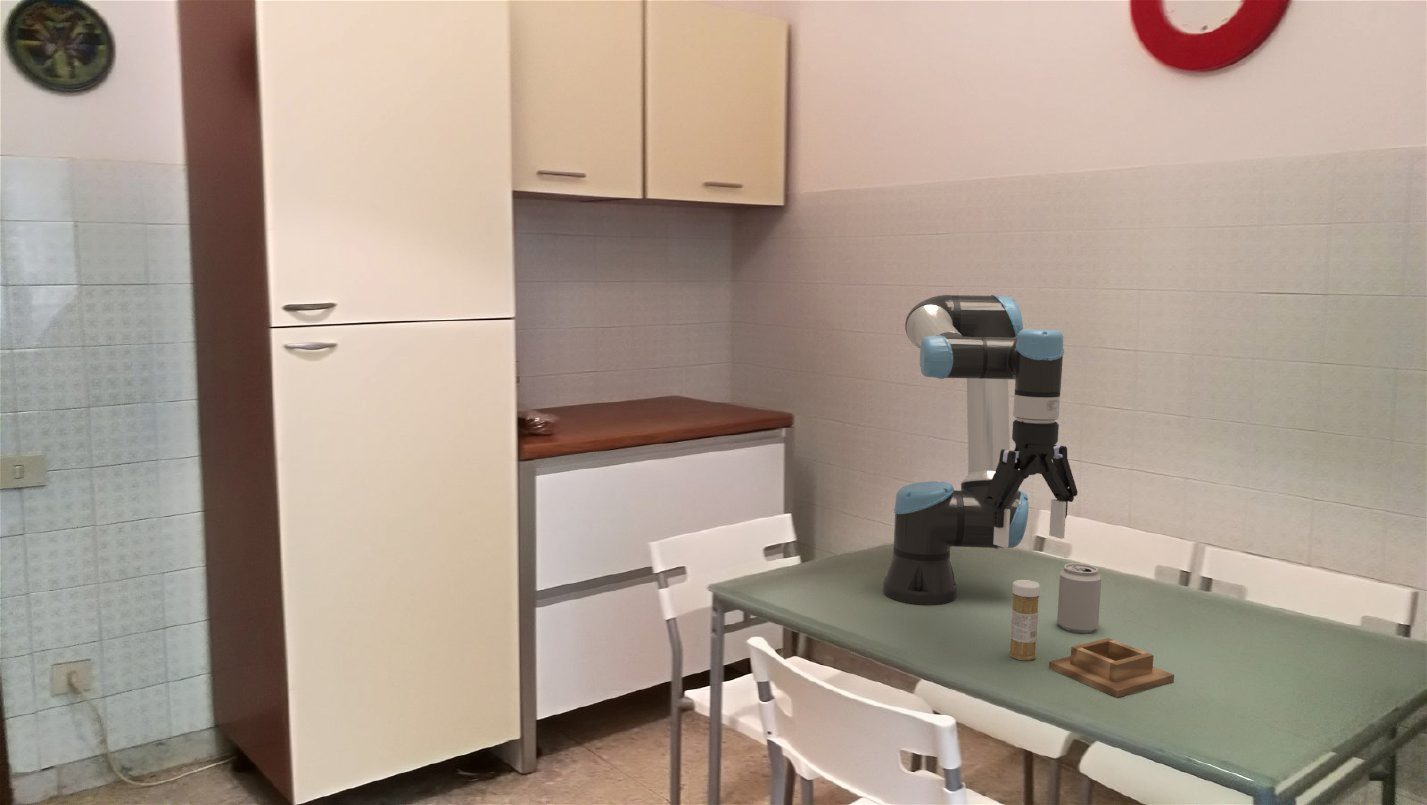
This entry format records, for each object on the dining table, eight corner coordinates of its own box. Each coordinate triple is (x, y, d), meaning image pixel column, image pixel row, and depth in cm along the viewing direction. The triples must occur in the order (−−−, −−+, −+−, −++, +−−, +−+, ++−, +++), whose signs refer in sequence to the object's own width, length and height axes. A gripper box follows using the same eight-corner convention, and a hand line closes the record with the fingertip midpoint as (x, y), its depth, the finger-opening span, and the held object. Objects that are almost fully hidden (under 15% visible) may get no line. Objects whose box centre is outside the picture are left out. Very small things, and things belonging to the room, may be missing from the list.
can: (1101, 635, 193) (1105, 573, 192) (1059, 632, 195) (1062, 570, 193) (1094, 622, 200) (1098, 562, 199) (1054, 619, 202) (1058, 559, 200)
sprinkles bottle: (1023, 650, 185) (1027, 577, 183) (1041, 659, 181) (1045, 584, 179) (1003, 654, 183) (1007, 580, 181) (1021, 663, 179) (1025, 587, 177)
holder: (1048, 668, 177) (1050, 644, 176) (1104, 654, 184) (1105, 631, 183) (1117, 697, 165) (1118, 672, 164) (1173, 681, 172) (1175, 657, 171)
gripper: (999, 427, 167) (992, 555, 170) (1103, 418, 180) (1095, 537, 182) (966, 421, 174) (960, 544, 176) (1068, 413, 186) (1062, 528, 189)
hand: (1029, 541), depth 179 cm, fingers open, 13 cm apart
